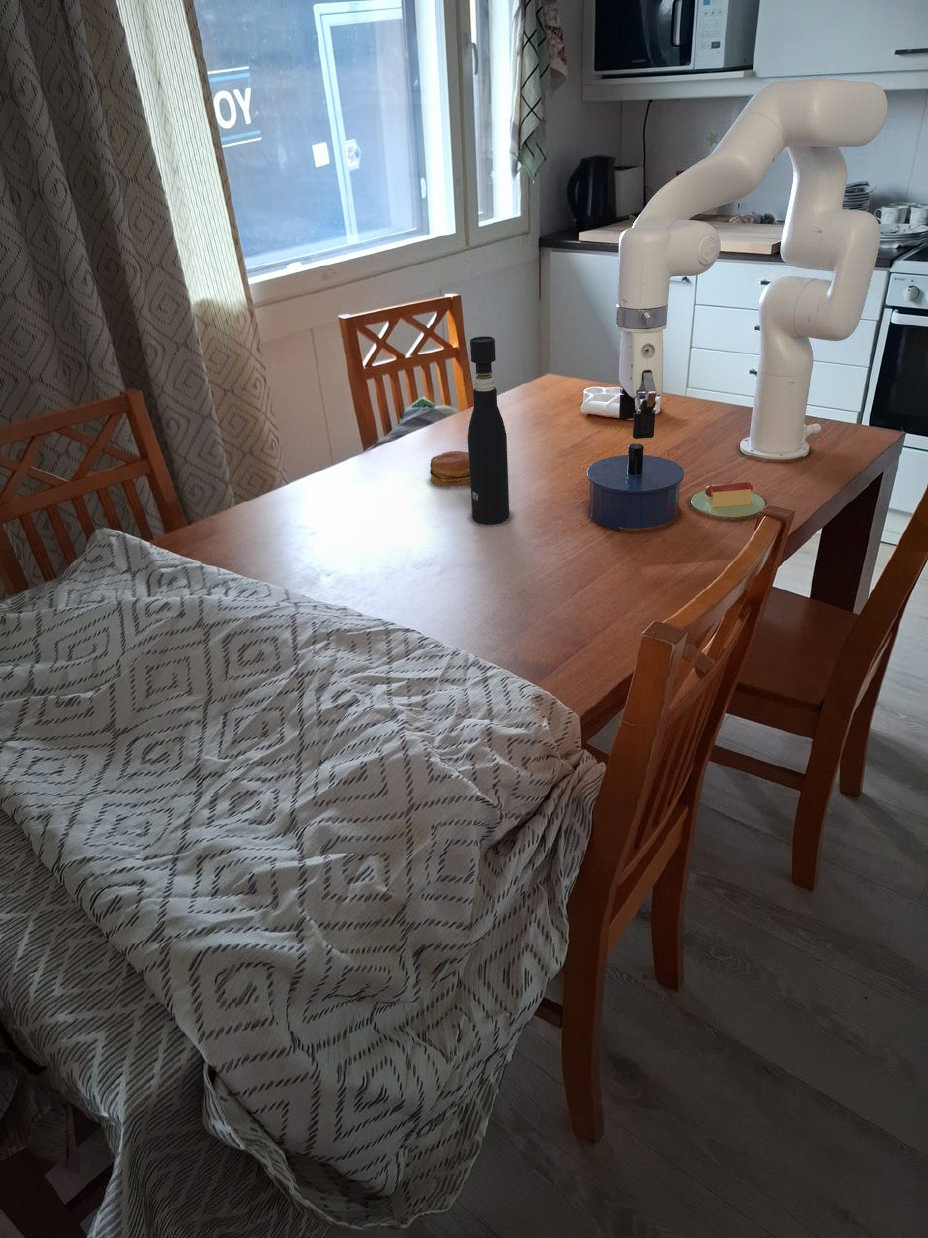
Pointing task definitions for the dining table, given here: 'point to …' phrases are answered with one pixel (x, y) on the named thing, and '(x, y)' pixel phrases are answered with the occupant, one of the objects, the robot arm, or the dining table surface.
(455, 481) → the burger
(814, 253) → the robot arm
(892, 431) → the dining table surface
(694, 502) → the plate
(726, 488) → the hot dog
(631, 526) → the pot
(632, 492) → the pot lid
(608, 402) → the white compartment tray
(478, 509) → the black bottle
